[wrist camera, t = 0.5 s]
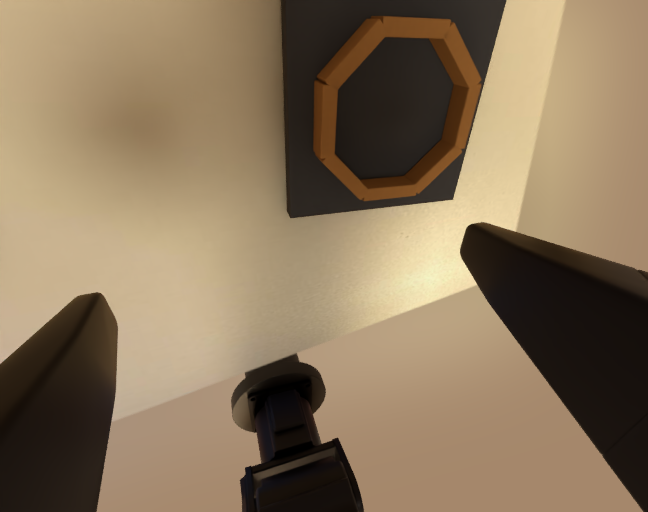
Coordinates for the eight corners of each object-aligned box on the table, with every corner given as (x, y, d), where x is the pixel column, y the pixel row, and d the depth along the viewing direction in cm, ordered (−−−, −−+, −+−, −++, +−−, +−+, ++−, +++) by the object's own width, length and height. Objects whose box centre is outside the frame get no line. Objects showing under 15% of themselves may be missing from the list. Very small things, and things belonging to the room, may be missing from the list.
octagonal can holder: (445, 194, 26) (466, 208, 24) (287, 211, 22) (296, 230, 20) (496, -9, 19) (531, -12, 17) (280, -26, 16) (292, -32, 14)
